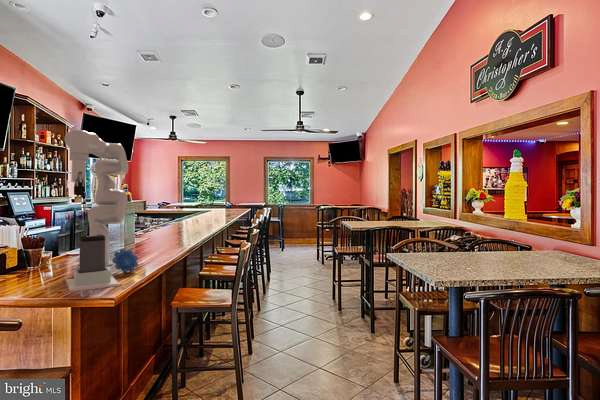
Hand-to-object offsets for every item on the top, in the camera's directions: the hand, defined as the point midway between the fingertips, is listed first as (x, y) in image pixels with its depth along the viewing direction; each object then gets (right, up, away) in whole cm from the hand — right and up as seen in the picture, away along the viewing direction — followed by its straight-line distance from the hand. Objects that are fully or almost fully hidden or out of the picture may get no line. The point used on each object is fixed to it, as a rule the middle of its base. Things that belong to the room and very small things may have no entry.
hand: (78, 195), depth 171 cm
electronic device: (+11, -38, -8) cm, 40 cm away
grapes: (+15, -39, +13) cm, 43 cm away
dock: (+10, -39, -8) cm, 41 cm away
